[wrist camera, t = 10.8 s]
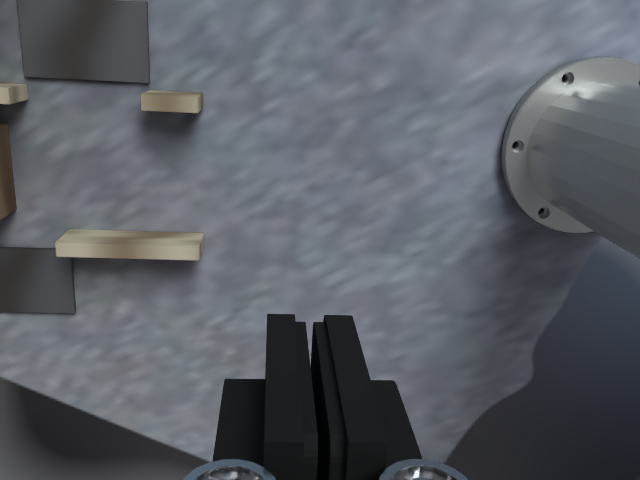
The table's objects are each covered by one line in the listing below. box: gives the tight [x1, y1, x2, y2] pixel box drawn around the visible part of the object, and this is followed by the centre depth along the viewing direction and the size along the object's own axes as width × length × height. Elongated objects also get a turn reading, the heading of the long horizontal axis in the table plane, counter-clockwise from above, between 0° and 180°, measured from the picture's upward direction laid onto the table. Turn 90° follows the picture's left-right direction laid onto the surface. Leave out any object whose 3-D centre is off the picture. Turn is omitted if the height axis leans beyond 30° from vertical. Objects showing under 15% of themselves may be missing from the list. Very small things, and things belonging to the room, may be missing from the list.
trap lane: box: [0, 0, 204, 313], centre depth 40 cm, size 21×22×3 cm
